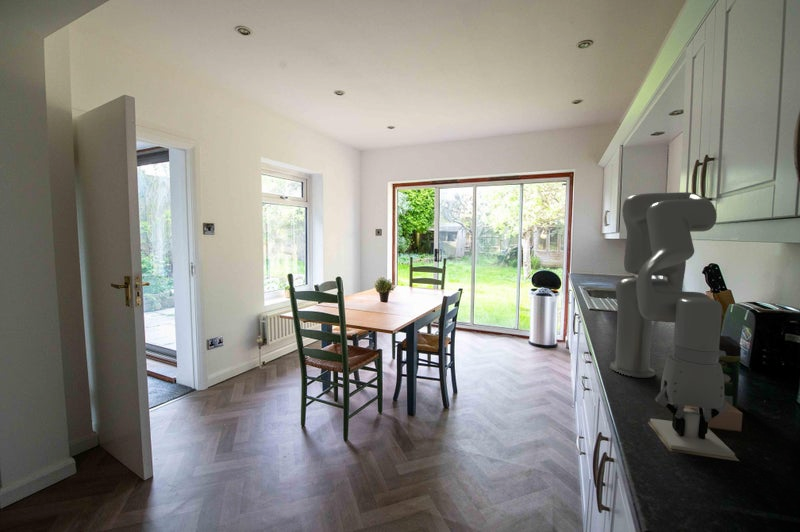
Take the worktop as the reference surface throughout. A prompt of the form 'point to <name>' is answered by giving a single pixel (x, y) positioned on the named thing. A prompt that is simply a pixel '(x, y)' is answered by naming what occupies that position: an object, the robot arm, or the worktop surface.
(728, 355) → the coffee jar
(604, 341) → the worktop surface
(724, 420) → the dish
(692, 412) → the lid
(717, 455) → the mat
